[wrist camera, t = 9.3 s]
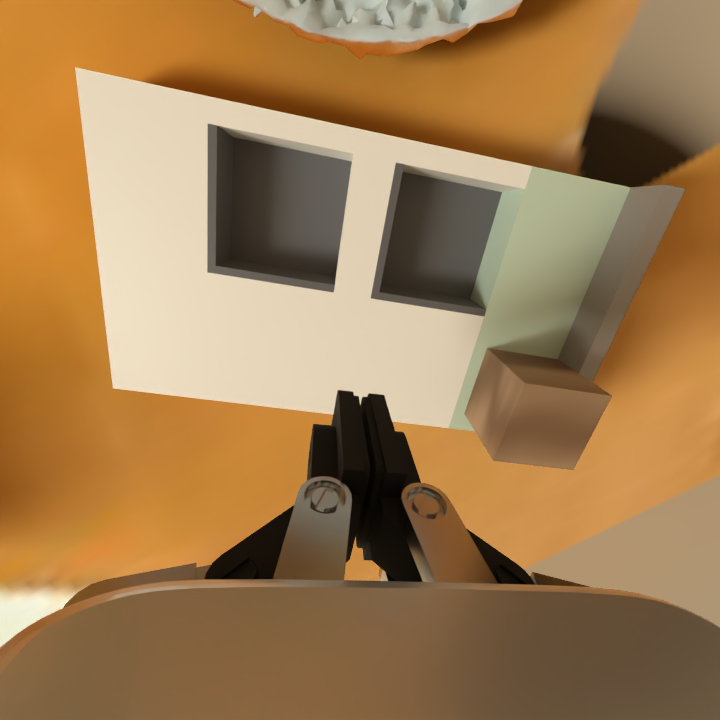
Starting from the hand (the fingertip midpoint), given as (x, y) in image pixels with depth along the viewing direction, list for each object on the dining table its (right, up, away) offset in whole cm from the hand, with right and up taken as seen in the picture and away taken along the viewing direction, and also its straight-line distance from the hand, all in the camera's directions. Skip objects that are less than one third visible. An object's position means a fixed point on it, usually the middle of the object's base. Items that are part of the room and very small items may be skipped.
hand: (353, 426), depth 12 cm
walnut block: (+9, +1, +9) cm, 13 cm away
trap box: (0, +7, +9) cm, 11 cm away
